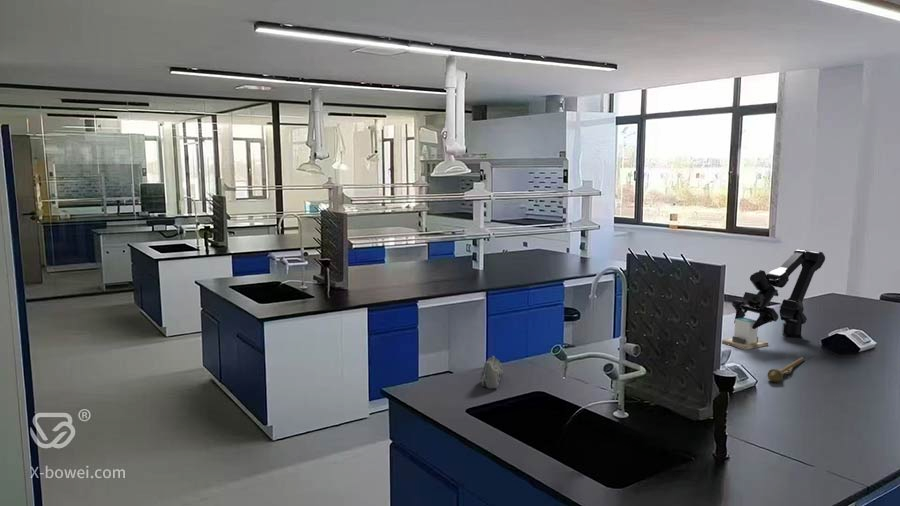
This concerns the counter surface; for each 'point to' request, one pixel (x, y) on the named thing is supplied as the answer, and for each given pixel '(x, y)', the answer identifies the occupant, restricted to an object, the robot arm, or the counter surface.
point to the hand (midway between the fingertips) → (743, 326)
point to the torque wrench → (782, 371)
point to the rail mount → (742, 345)
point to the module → (745, 330)
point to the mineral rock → (491, 373)
